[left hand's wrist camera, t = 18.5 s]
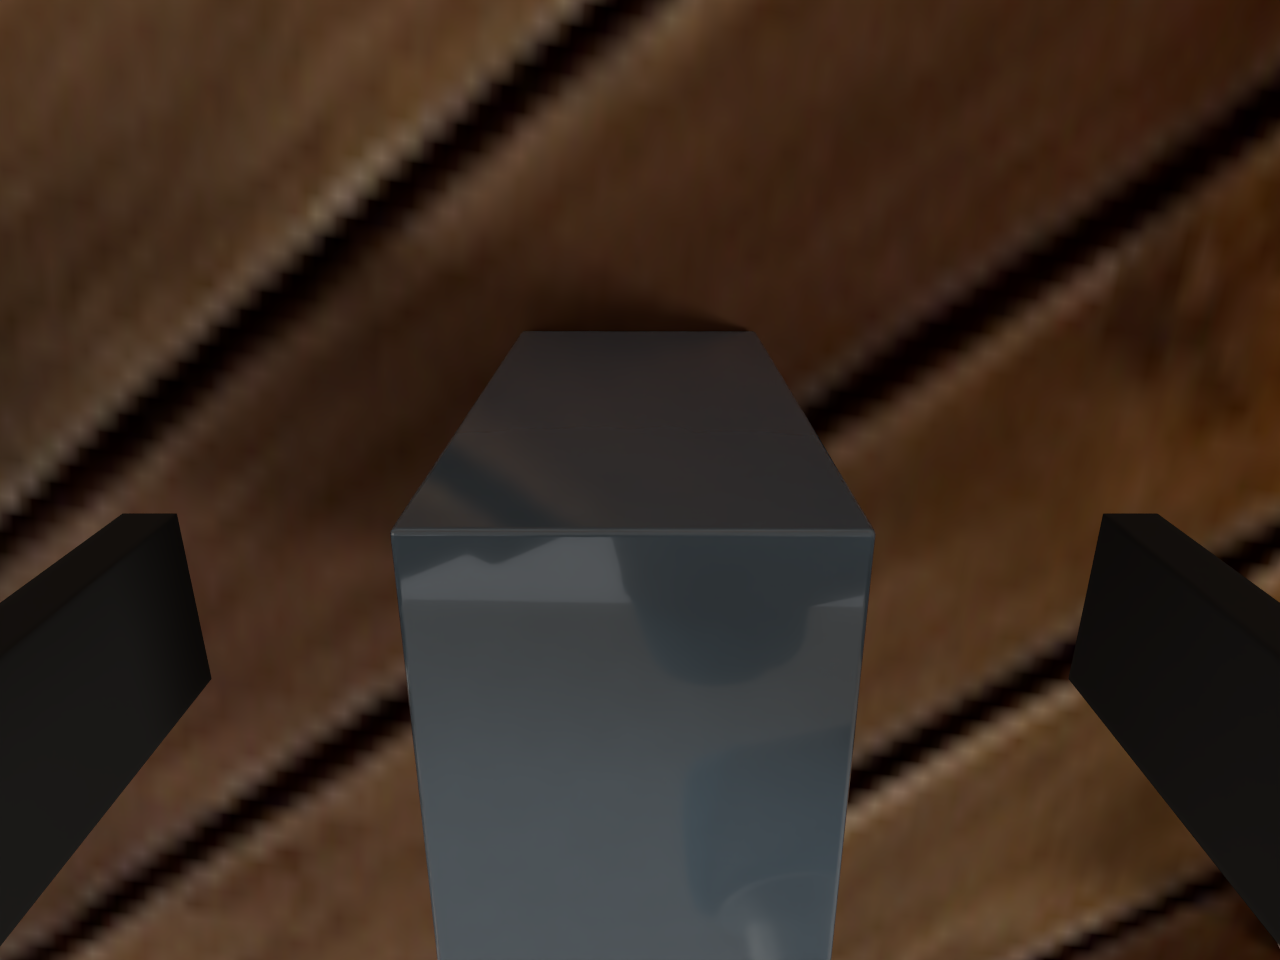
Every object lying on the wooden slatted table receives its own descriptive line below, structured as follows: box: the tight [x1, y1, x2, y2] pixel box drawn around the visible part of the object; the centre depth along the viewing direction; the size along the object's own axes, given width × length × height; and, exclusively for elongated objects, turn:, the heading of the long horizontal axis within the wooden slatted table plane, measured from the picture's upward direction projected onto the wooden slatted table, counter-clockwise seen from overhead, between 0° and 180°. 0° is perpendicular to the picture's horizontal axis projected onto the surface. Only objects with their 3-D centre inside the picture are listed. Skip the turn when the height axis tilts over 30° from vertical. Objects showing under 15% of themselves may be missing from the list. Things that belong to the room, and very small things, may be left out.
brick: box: [390, 331, 876, 960], centre depth 14 cm, size 5×6×10 cm
